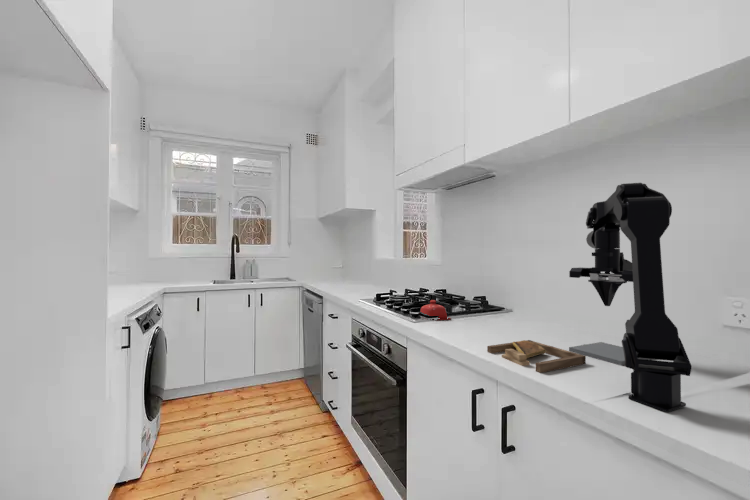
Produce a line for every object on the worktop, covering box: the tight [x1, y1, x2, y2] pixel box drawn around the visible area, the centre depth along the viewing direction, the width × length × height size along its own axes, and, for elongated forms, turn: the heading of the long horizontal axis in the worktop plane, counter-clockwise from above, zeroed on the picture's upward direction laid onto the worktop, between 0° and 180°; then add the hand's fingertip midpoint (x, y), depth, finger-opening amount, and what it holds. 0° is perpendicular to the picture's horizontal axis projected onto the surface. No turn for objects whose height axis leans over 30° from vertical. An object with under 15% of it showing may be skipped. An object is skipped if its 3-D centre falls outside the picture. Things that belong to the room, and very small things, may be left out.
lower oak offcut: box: [501, 353, 530, 367], centre depth 88 cm, size 7×2×2 cm, turn 22°
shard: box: [512, 340, 546, 360], centre depth 93 cm, size 11×8×2 cm
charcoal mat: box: [568, 341, 650, 366], centre depth 94 cm, size 14×14×1 cm
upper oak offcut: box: [504, 349, 527, 361], centre depth 88 cm, size 6×2×2 cm, turn 12°
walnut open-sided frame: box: [486, 339, 587, 374], centre depth 91 cm, size 17×16×2 cm
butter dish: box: [420, 299, 452, 321], centre depth 143 cm, size 12×12×8 cm
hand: (607, 305), depth 94 cm, fingers closed
